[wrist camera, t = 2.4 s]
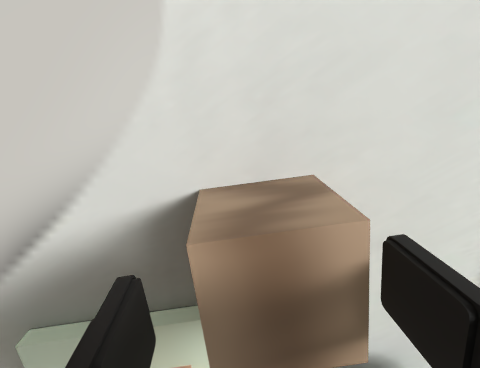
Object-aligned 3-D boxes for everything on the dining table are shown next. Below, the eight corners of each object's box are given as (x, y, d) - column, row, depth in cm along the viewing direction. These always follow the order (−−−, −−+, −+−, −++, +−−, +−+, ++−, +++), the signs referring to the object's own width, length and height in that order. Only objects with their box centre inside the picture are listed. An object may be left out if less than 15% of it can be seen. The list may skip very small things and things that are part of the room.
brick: (312, 174, 15) (369, 219, 9) (317, 272, 17) (367, 362, 11) (199, 189, 15) (186, 245, 9) (215, 286, 16) (213, 385, 11)
